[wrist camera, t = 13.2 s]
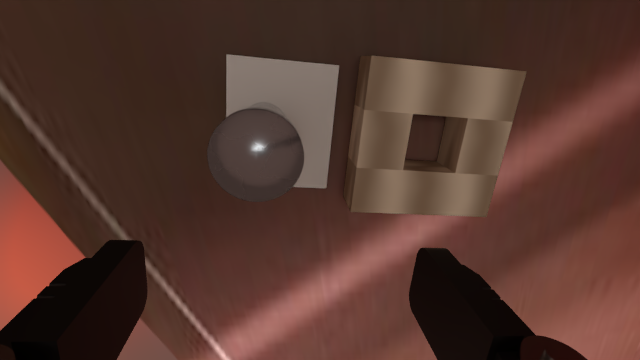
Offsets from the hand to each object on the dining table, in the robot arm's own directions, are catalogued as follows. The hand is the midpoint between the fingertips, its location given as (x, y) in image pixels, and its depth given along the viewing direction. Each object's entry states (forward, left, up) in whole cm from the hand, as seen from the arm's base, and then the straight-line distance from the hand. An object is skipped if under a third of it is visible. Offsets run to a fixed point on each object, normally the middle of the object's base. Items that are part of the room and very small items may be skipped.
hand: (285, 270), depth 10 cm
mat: (0, 0, -24) cm, 24 cm away
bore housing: (-14, 0, -24) cm, 28 cm away
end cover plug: (+2, 0, -23) cm, 23 cm away
